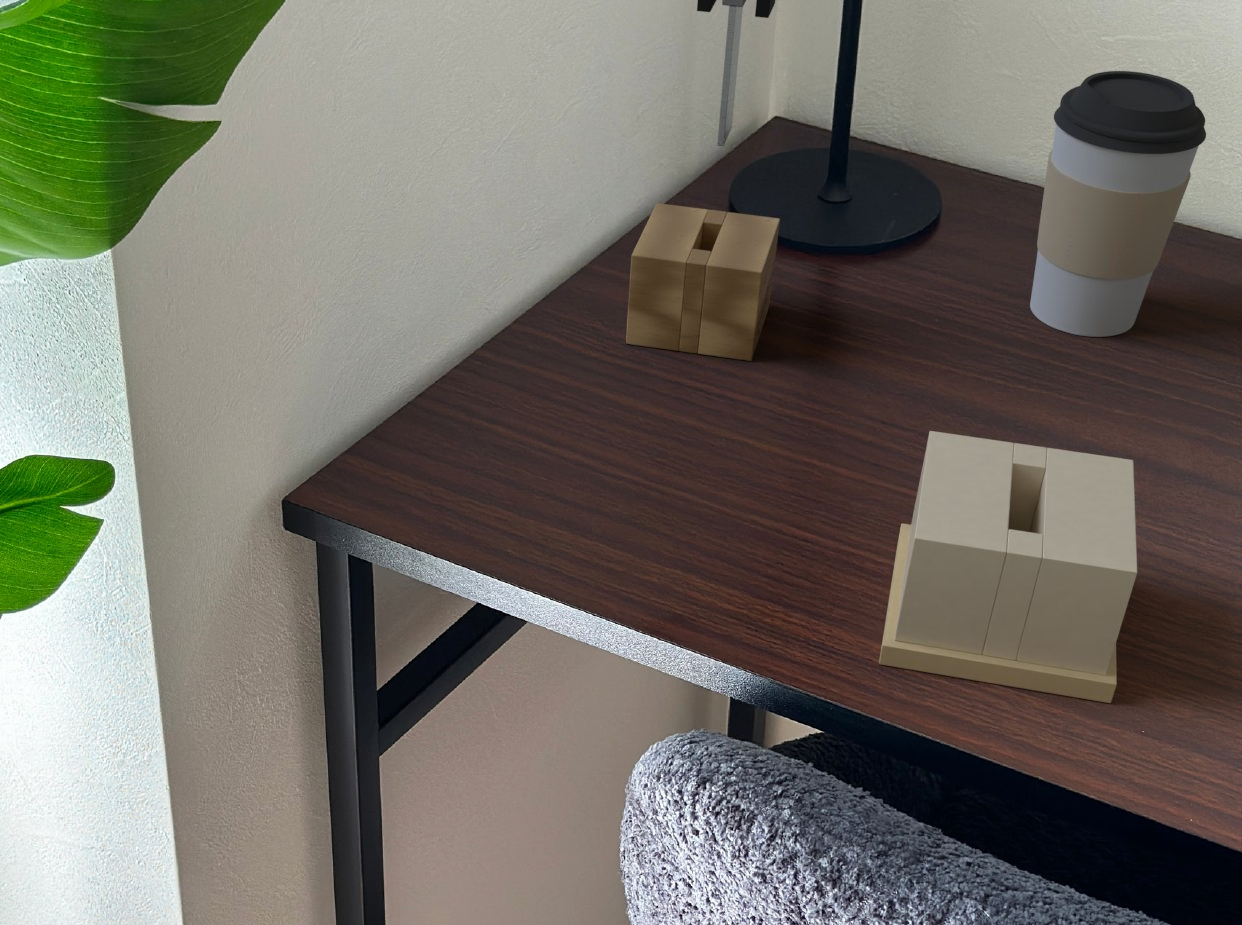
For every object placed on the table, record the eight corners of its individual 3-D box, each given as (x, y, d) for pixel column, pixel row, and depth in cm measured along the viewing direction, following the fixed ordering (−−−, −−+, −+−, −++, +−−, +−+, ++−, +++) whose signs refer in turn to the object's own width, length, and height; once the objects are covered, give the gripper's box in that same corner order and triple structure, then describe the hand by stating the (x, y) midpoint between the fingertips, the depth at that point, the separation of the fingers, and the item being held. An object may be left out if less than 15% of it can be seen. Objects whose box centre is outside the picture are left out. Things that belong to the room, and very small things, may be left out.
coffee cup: (1117, 277, 117) (1175, 55, 107) (1177, 340, 110) (1245, 108, 101) (991, 284, 116) (1039, 60, 106) (1044, 348, 109) (1100, 114, 99)
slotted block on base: (1109, 574, 90) (1143, 456, 85) (1111, 703, 82) (1149, 580, 77) (897, 541, 92) (920, 423, 87) (878, 664, 83) (902, 541, 79)
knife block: (769, 304, 113) (780, 218, 109) (751, 361, 107) (762, 271, 103) (650, 288, 114) (656, 202, 110) (625, 344, 108) (631, 254, 104)
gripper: (604, -499, 81) (586, 14, 96) (941, -485, 78) (868, 42, 93) (636, -513, 86) (614, -26, 101) (951, -499, 84) (881, 0, 99)
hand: (736, 6), depth 97 cm, fingers closed on knife, 3 cm apart
